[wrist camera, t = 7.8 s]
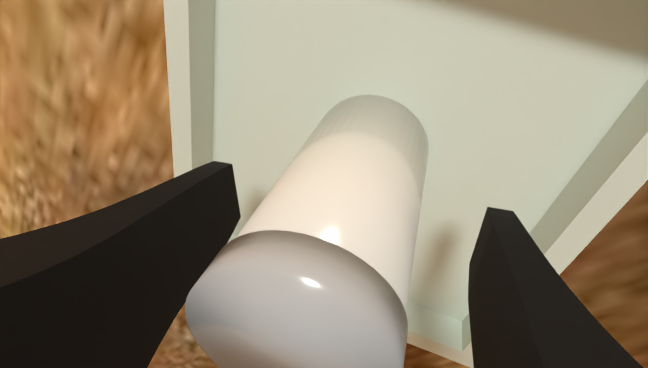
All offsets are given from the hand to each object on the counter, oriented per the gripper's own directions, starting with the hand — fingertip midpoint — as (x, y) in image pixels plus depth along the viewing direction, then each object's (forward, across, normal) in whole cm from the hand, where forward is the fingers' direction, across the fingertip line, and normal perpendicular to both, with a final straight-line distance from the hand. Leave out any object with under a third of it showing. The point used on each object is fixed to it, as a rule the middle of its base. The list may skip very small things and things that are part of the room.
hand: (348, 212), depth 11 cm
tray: (+4, 0, 0) cm, 4 cm away
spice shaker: (+3, 0, 0) cm, 3 cm away
